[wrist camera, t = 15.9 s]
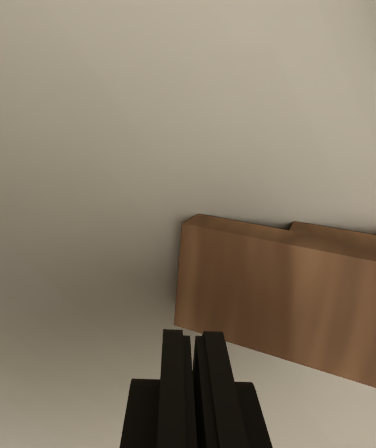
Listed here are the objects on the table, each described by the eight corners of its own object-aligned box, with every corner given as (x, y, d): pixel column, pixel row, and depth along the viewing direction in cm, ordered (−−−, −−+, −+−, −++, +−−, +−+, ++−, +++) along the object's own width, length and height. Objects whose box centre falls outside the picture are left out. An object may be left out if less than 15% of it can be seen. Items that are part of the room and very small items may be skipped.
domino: (173, 325, 16) (417, 400, 13) (181, 223, 15) (458, 278, 12) (190, 306, 18) (408, 368, 15) (198, 213, 17) (442, 258, 13)
